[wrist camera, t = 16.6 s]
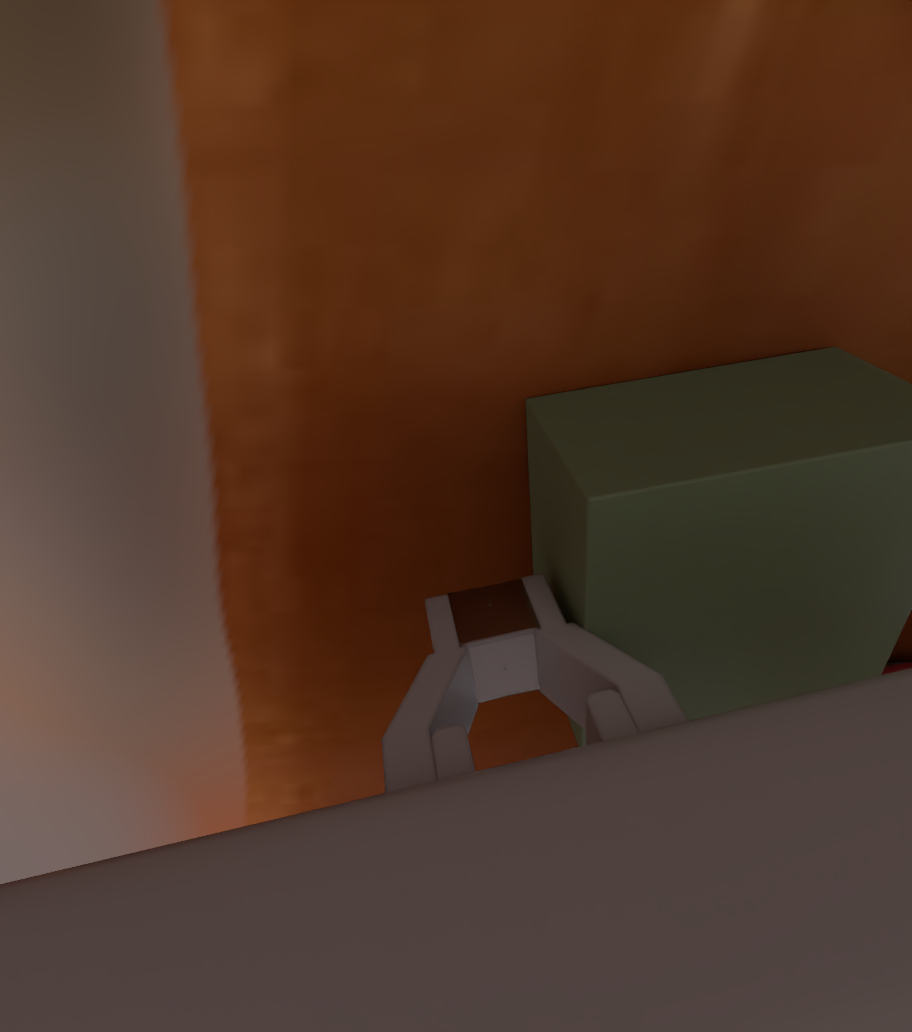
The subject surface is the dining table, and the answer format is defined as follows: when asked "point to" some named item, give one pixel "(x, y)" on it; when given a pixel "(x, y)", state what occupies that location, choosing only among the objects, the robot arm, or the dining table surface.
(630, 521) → the block
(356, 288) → the dining table surface
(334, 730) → the dining table surface
